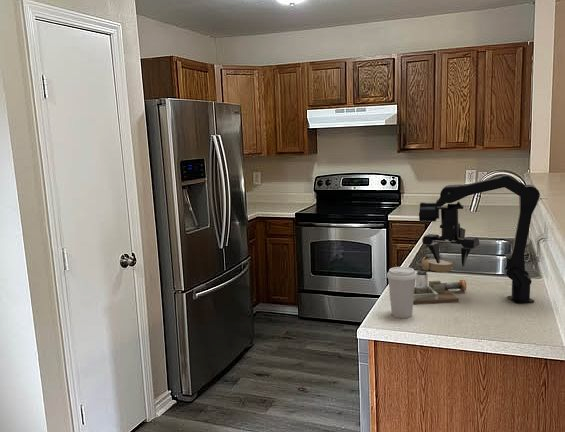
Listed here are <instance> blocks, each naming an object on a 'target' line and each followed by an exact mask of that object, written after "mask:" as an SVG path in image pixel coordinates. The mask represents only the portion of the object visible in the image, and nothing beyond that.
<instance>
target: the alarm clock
mask: <svg viewBox="0 0 565 432" xmlns="http://www.w3.org/2000/svg"><path fill="white" fill-rule="evenodd" d="M415 264H416V266H418V267H421V269H422V271H426V272H428V271H432V272H438V273H439V272H440V273H447V272H451V271H452V270H453V269H454V268H453V261H451V260H448V259H444V258H440V263H437V262H436V260H435V258H434V257H430V258H429V257H428V256H424V257H422V258H421V259H420V260H417V261H416V263H415Z"/></svg>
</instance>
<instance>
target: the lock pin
mask: <svg viewBox="0 0 565 432" xmlns="http://www.w3.org/2000/svg"><path fill="white" fill-rule="evenodd" d="M439 284H444V285H445V290H446V289H448V290H460V291H461V292H465V291H467V286H468V285H467V281H466V280H465V279H459V281H458V282H456V281H455V282H441V283H439Z"/></svg>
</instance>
